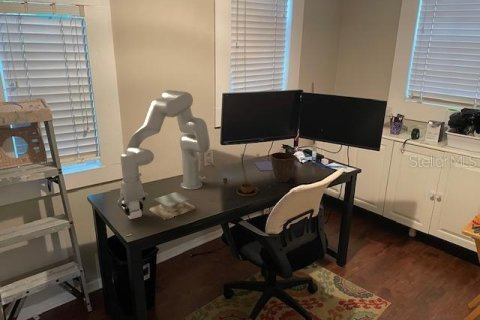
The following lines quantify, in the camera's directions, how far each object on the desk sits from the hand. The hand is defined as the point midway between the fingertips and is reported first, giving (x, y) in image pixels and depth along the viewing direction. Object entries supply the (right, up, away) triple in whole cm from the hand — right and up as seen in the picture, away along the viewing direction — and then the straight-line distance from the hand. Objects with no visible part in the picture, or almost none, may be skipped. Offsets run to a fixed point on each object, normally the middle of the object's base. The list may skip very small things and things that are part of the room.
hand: (134, 212), depth 176 cm
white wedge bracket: (0, -2, +1) cm, 2 cm away
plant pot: (+77, +13, +49) cm, 92 cm away
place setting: (+53, +7, +34) cm, 63 cm away
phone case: (-6, +1, +12) cm, 14 cm away
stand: (+17, 0, +8) cm, 19 cm away
